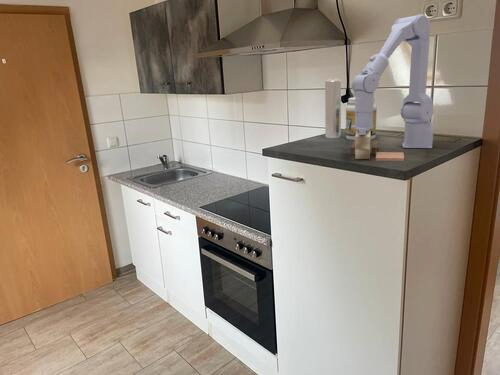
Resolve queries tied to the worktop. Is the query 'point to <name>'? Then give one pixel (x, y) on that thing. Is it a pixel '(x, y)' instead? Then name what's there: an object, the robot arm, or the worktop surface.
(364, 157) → the birch block
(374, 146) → the slot rack
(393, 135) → the worktop surface
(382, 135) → the worktop surface
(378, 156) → the terracotta tile
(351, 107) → the supplement tub
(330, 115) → the air filter
